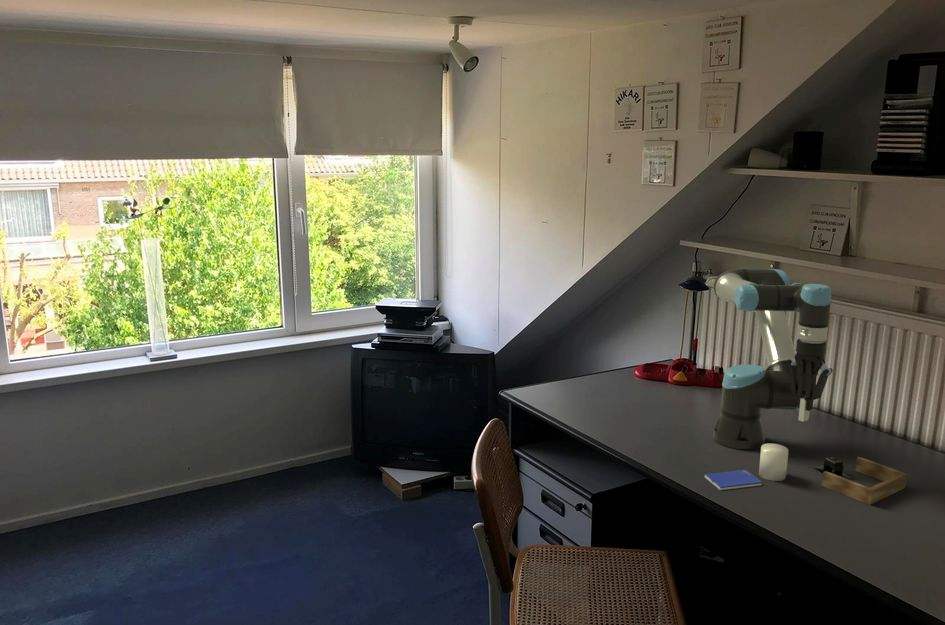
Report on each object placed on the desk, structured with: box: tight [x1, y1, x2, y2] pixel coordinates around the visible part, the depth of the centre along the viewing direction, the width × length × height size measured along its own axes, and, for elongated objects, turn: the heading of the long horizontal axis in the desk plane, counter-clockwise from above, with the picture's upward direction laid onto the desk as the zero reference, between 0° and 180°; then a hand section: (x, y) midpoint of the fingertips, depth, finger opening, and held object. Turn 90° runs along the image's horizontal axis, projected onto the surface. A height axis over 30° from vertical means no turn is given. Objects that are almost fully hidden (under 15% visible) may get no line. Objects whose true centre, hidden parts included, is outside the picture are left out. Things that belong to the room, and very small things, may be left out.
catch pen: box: [821, 456, 908, 506], centre depth 201 cm, size 13×17×4 cm
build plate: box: [812, 456, 854, 481], centre depth 209 cm, size 12×7×5 cm, turn 17°
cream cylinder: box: [758, 443, 789, 482], centre depth 208 cm, size 7×7×8 cm
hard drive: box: [704, 469, 763, 491], centre depth 205 cm, size 2×8×12 cm
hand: (803, 419), depth 214 cm, fingers closed
